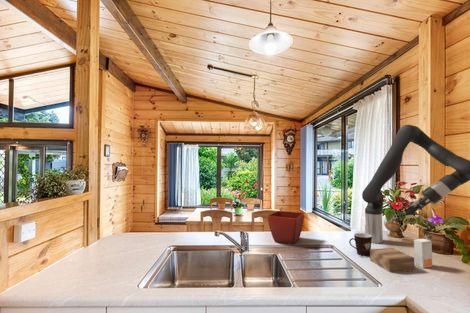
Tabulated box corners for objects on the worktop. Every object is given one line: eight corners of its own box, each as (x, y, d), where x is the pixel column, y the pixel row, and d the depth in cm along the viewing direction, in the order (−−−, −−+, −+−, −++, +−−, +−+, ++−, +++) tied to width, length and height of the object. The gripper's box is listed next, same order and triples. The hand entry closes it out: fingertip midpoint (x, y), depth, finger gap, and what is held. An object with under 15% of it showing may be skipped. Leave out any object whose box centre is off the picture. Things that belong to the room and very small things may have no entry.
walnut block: (370, 261, 130) (369, 249, 130) (392, 259, 131) (392, 247, 131) (389, 272, 116) (389, 259, 116) (414, 271, 117) (414, 257, 117)
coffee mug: (370, 251, 142) (369, 233, 143) (374, 257, 134) (373, 237, 134) (347, 250, 145) (346, 232, 146) (350, 255, 137) (349, 236, 137)
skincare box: (423, 268, 119) (421, 242, 119) (414, 265, 123) (413, 239, 123) (433, 266, 121) (431, 240, 121) (424, 263, 125) (423, 238, 125)
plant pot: (297, 246, 154) (296, 218, 155) (267, 242, 164) (266, 215, 164) (305, 238, 171) (304, 212, 171) (278, 235, 180) (277, 210, 181)
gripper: (425, 187, 135) (398, 206, 138) (433, 185, 122) (404, 206, 125) (437, 198, 132) (410, 218, 135) (447, 198, 119) (416, 219, 123)
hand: (407, 212), depth 130 cm, fingers open, 8 cm apart
